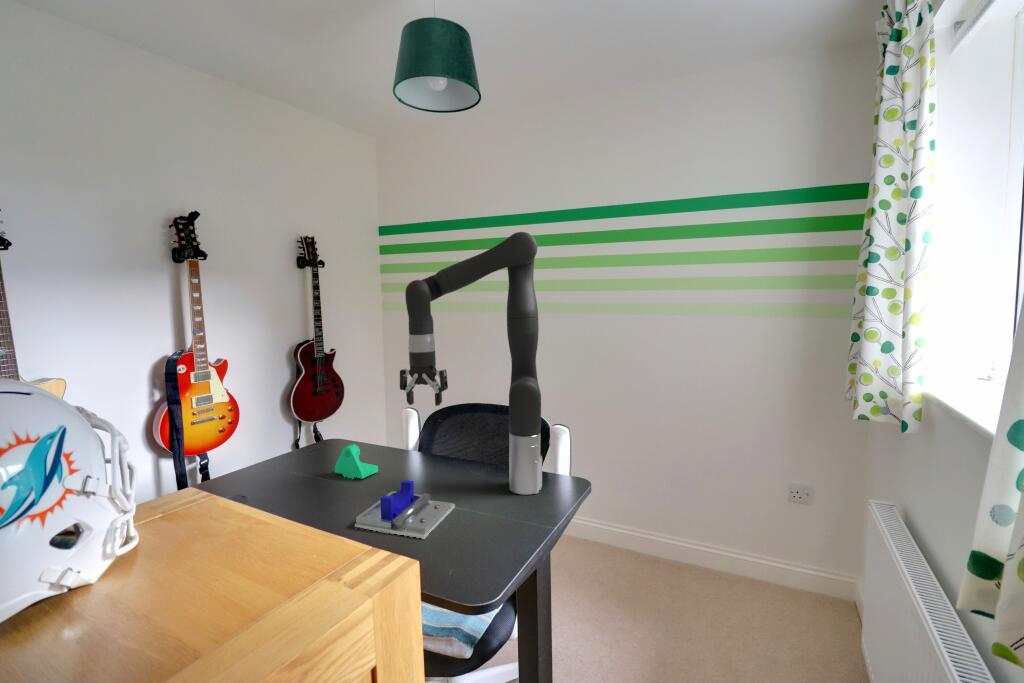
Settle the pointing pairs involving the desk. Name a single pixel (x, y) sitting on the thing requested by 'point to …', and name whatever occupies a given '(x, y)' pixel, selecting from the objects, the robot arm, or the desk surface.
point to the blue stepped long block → (397, 501)
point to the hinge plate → (403, 528)
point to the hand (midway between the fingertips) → (424, 404)
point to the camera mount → (353, 464)
